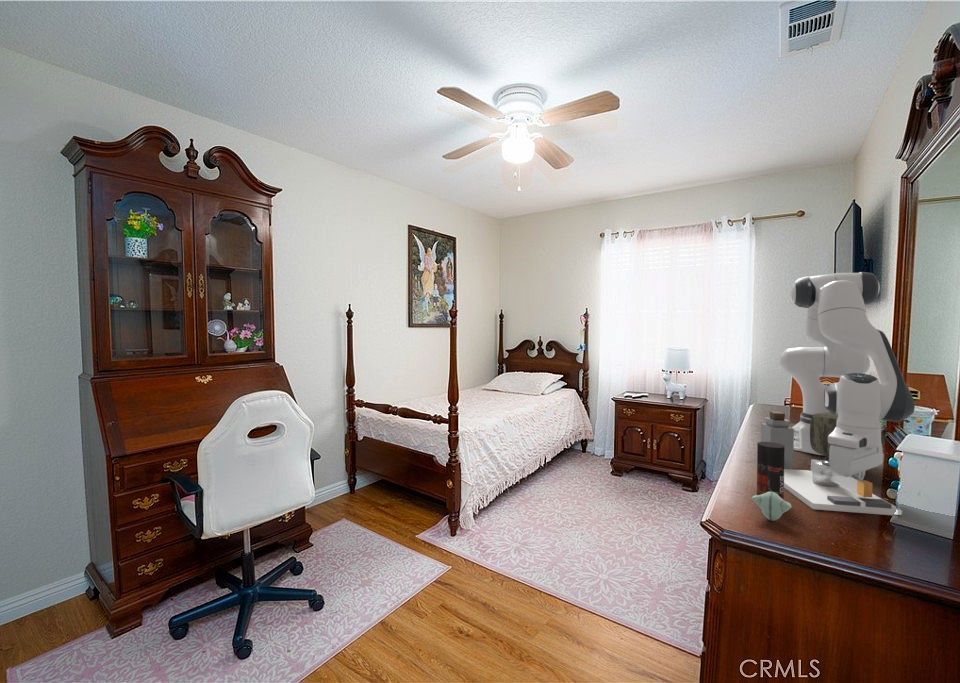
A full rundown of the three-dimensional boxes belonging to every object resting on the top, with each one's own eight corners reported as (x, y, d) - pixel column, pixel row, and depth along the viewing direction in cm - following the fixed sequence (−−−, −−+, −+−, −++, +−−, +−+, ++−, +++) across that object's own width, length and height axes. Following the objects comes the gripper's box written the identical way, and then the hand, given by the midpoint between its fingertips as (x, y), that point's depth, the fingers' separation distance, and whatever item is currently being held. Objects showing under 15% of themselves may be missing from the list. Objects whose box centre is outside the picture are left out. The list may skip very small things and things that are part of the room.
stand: (763, 472, 133) (763, 464, 133) (832, 476, 129) (832, 468, 129) (812, 509, 106) (812, 499, 106) (902, 516, 102) (902, 505, 102)
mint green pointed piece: (750, 517, 101) (750, 490, 101) (753, 512, 104) (754, 485, 104) (790, 528, 96) (791, 499, 96) (793, 522, 99) (793, 494, 99)
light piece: (802, 476, 124) (803, 455, 124) (824, 477, 124) (824, 455, 124) (854, 503, 105) (855, 478, 105) (880, 504, 104) (881, 479, 104)
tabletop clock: (874, 473, 132) (876, 394, 131) (854, 476, 129) (855, 396, 129) (825, 460, 146) (826, 388, 145) (806, 462, 143) (807, 389, 142)
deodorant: (759, 494, 116) (760, 440, 115) (785, 500, 112) (786, 444, 111) (754, 500, 112) (754, 444, 111) (781, 506, 107) (782, 449, 107)
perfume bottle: (793, 469, 136) (794, 414, 135) (770, 468, 137) (770, 414, 136) (782, 463, 142) (783, 410, 142) (760, 462, 144) (761, 410, 143)
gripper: (861, 427, 118) (860, 475, 119) (824, 437, 109) (823, 489, 110) (891, 432, 113) (889, 483, 113) (854, 443, 103) (853, 498, 104)
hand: (856, 486), depth 111 cm, fingers closed
